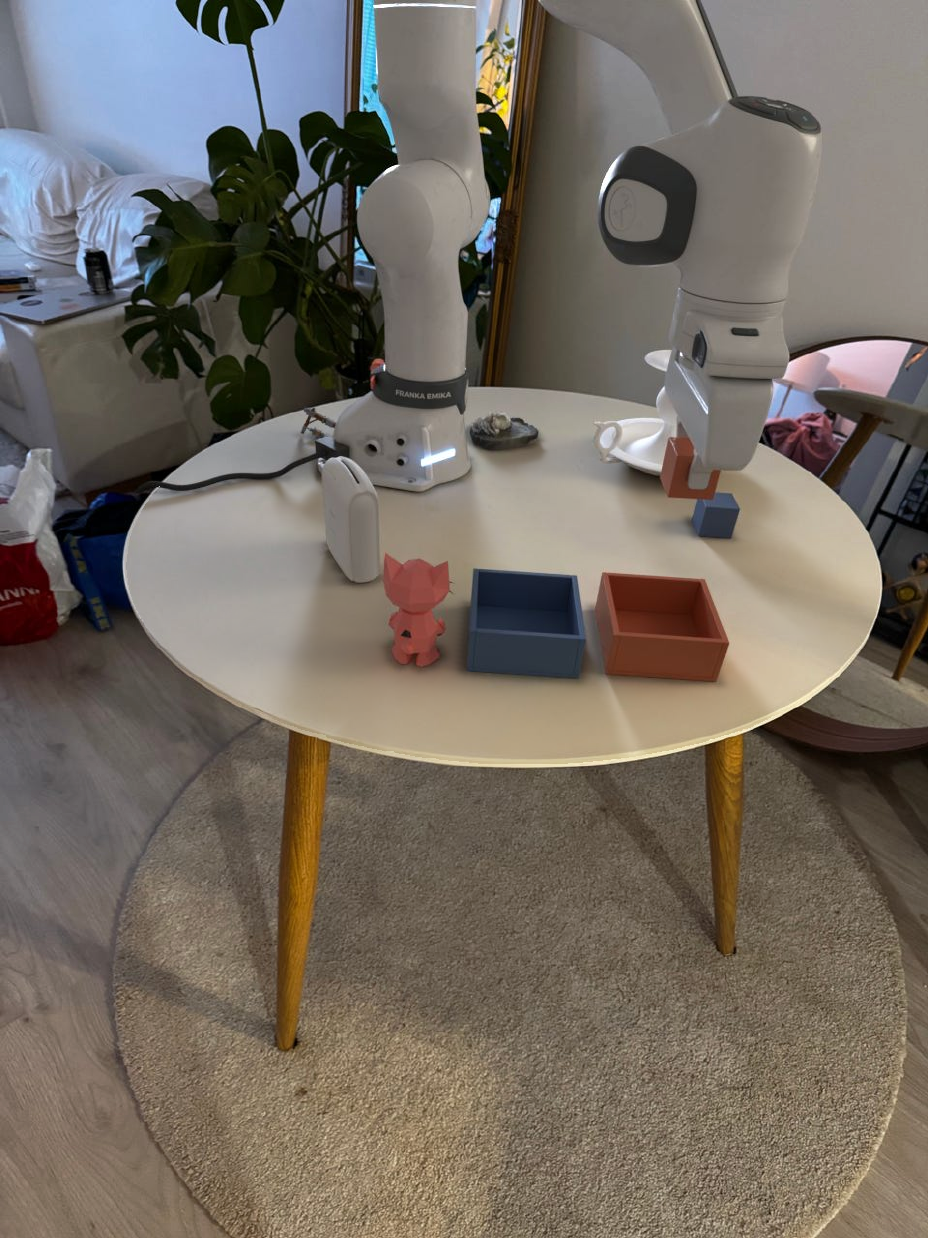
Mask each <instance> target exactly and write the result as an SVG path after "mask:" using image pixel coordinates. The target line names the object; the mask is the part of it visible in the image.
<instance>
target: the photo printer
mask: <svg viewBox="0 0 928 1238" xmlns="http://www.w3.org/2000/svg"><path fill="white" fill-rule="evenodd" d="M321 484H322V485H321V486H322V487H321V488H322V501H323V502H322V503H323V513H324V514H323V515H324V516H323V517H324V529H325V539H326V540H325V541H326V544H327V548H328V550H329V552H330V554H331V555H332V557H333V558H334V560H335V562H336V563H337V565H338V566H339V568H340V569H341V570H342V572H343V573H344V575H345V576H346V577H347V578H348V579H349V581H351V582H354V583H368V582H372V581H374V580H375V579H377V577H378V576H380V574H381V546H380V539H381V538H380V503H379V497H378V493H377V491H376V489H375V487H374V485H372V483H371V481H370V480H369V478H368V477H367V475H366V473H365V472H364V471H363V470H362V469H361V468H360V467H359V466H358V465H357V464H356V463H355V462H353V461H352V460H350V459H348V458H346V457H342V456H339V457H337V458H330V459H329V460H327V461H326V463H325V464H324V466H323V469H322V474H321Z"/></svg>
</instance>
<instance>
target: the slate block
mask: <svg viewBox="0 0 928 1238" xmlns="http://www.w3.org/2000/svg"><path fill="white" fill-rule="evenodd" d="M740 511H741V508H740V506H739V504H738V501H737V500H736V497H735V496H734V494H733V493H731V492H719V491H718V492H717V491H715V495H714V499H713V500H704V499H696V502H695V505H694V509H693V513H692V516H691V522H692V524H693V527H694V530H695V532H696V534H697V536H698V537H704V538H705V537H706V538H719V539H732V538H733V534H734V531H735V527H736V524H737V521H738V518H739V514H740Z"/></svg>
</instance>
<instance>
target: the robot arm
mask: <svg viewBox="0 0 928 1238" xmlns="http://www.w3.org/2000/svg"><path fill="white" fill-rule="evenodd" d="M538 1H539V3H540V5H541V6H542V7H543V8H544V9H545V10H546V11H547V12H548V14H550V15H551V16H552V17H555V19H557V20H559V21H560V22H562V23H564V24H566V25H568V26H570V27H572V28H575V29H577V30H579V31H582V32H584V33H586V34H589V35H591V36H593V37H594V38H597V39H599V40H601V41H603V42H604V43H606V44H608V45H610V46H612V47H613V48H615V49H616V50H618V52H621V53H622V54H624V55H625V56H626V57H627V58H629V59H630V60H631V61H632V62H633V63H635V65H636V66H637V67H638V68H639V69H640V70H641V71H642V73H643V74H644V75H645V76H646V78H647V80H648V82H649V83H650V85H651V88H652V90H653V93H654V95H655V97H656V99H657V102H658V104H659V107H660V109H661V112H662V114H663V117H664V119H665V122H666V124H667V127H668V129H669V132H670V134H671V135H669V136H665V137H662V138H658V139H656V140H652V141H648V142H645V143H642V144H639V145H634V146H632V147H629V148H627V149H626V150H624V151H623V152H622V153H620V154H619V155H618V156H617V157H616V159H615V160H614V161H613V162H612V164H611V166H610V167H609V169H608V170H607V172H606V175H605V177H604V179H603V182H602V185H601V188H600V192H599V195H598V204H597V222H598V223H597V224H598V228H599V232H600V236H601V239H602V241H603V243H604V245H605V247H606V249H607V250H608V251H609V253H610V254H611V255H612V256H613V257H614V258H615V259H616V260H617V261H618V262H620V263H622V264H625V265H627V266H628V265H629V266H634V267H639V268H654V267H661V266H673V267H675V268H677V269H678V270H679V274H680V278H679V283H678V289H677V293H676V299H675V304H674V310H673V314H672V319H671V323H670V324H671V325H670V330H669V334H668V342H669V344H670V346H672V347H671V349H670V350H671V354H670V358H669V362H668V367H667V371H666V372H665V377H664V386H665V392H666V394H667V396H668V398H669V400H670V402H671V404H672V406H673V408H674V409H675V411H676V413H677V420H676V437H681V438H690V440H691V442H692V444H693V446H694V455H695V457H694V459H693V462H692V465H688V470H687V475H686V482H687V484H688V486H689V488H691V489H700V490H703V489H705V488H706V487H707V486H708V482H709V478H710V474H711V473H712V471H713V470H721V471H725V472H726V471H730V472H741V471H743V470H745V469H746V467H748V465H749V464H750V463H751V461H752V460H753V458H754V456H755V454H756V451H757V448H758V444H759V442H760V440H761V438H762V435H763V431H764V428H765V425H766V422H767V419H768V416H769V413H770V409H771V406H772V401H773V397H774V390H775V389H774V381H773V380H781V379H783V378H784V377H785V375H786V372H787V369H788V366H789V361H790V352H789V351H790V350H789V348H788V345H787V342H786V337H785V333H784V316H783V313H784V308H785V306H786V302H787V297H788V295H789V275H790V274H789V273H790V269H791V265H792V261H793V260H794V256H796V253H797V251H798V249H799V247H800V246H801V244H802V242H803V240H804V237H805V233H806V230H807V226H808V222H809V218H810V214H811V212H812V211H811V210H812V206H813V202H814V199H815V194H816V189H817V185H818V180H819V175H820V169H821V164H822V163H821V162H822V154H823V129H822V127H821V124H820V122H819V120H818V119H817V118H816V117H815V116H814V115H813V114H812V113H811V112H810V111H809V110H807V109H805V108H803V107H801V106H799V105H796V104H793V103H790V102H787V101H783V100H779V99H771V98H767V97H765V96H755V95H740V96H739V95H738V92H737V89H736V86H735V84H734V81H733V79H732V77H731V74H730V71H729V69H728V66H727V63H726V61H725V58H724V56H723V54H722V53H723V52H722V51H721V48H720V45H719V43H718V40H717V37H716V35H715V32H714V30H713V27H712V25H711V22H710V20H709V17H708V15H707V12H706V10H705V7H704V5H703V3H702V0H538ZM373 7H374V8H373V21H374V39H375V60H376V61H375V63H376V78H377V79H376V82H377V94H378V97H379V102H380V104H381V106H382V107H383V109H384V110H385V113H386V116H387V119H388V121H389V125H390V127H391V132H392V133H391V134H392V137H393V141H394V146H395V152H396V156H397V164H396V165H393V166H391V167H389V168H387V169H386V170H384V171H383V172H381V174H379V175H378V177H377V178H375V179H374V181H372V183H371V184H370V185H369V186H368V187H367V188H366V189H365V191H364V193H363V194H362V195H361V198H360V200H359V203H358V207H357V214H356V224H357V231H358V235H359V238H360V241H361V244H362V245H363V247H364V249H365V250H366V252H367V253H368V254H369V256H370V258H371V259H372V260H373V264H374V268H375V273H376V277H377V281H378V284H379V289H380V294H381V300H382V307H383V320H384V321H383V322H384V323H383V324H384V327H383V328H384V359H382V358H376V359H374V360H373V361H372V363H371V365H370V375H369V376H370V377H369V378H370V379H369V380H370V381H369V384H370V391H369V392H368V393H366V394H365V395H363V396H362V397H360V398H358V399H357V400H356V401H355V402H353V403H352V404H350V405H349V406H347V407H346V408H344V410H343V411H342V412H341V413H340V415H339V416H338V417H337V420H336V421H335V422H336V425H335V428H333V432H332V433H333V434H332V436H323V437H321V438H320V437H319V438H318V439H315V440H314V445H315V447H314V448H315V453H313V454H310V455H307V456H304V457H301V458H299V459H296V460H295V461H293V462H291V463H289V464H287V465H286V466H285V467H283V468H281V469H279V470H277V471H272V472H262V473H261V472H231V473H226V474H221V475H218V476H214V477H210V478H208V479H205V480H201V481H197V482H194V483H188V484H175V483H168V482H165V481H158V480H151V481H146V482H143V483H142V484H140V485H139V486H138V487H137V488H136V489H135V490H134V494H137V495H138V494H142V493H143V492H144V491H146V490H148V489H151V488H159V489H164V490H169V491H176V492H189V491H194V490H198V489H203V488H205V487H209V486H211V485H214V484H217V483H221V482H226V481H230V480H231V481H232V480H239V479H240V480H241V479H243V480H244V479H245V480H270V479H276V478H280V477H282V476H284V475H286V474H288V473H289V472H291V471H292V470H293V469H295V468H297V467H299V466H303V465H304V464H307V463H309V462H313V461H316V460H317V469H318V471H319V473H320V474H321V475H322V469H323V466H324V464H325V463H326V461H327V460H329V459H330V458H337V457H339V456H342V457H346V458H348V459H350V460H352V461H353V462H355V463H356V464H357V465H358V466H359V467H360V468H361V469H362V470H363V471H364V472H365V473H366V475H367V477H368V478H369V480H370V481H371V483H372V485H373V486H374V485H375V486H380V487H386V488H392V489H398V490H404V491H411V492H418V493H421V492H425V491H427V490H429V489H431V488H432V487H434V486H436V485H440V484H444V483H449V482H452V481H454V480H455V481H456V480H457V479H459V478H461V477H463V476H464V475H466V474H467V473H468V472H469V471H470V469H471V466H472V462H471V459H470V455H469V450H468V444H467V436H466V425H465V412H466V409H467V407H468V395H469V379H468V377H469V376H468V375H469V371H468V369H467V368H466V358H467V342H468V341H467V340H468V324H469V323H468V322H469V311H468V307H467V305H466V304H465V302H464V299H463V298H464V297H463V293H462V285H461V278H460V271H459V269H460V268H459V257H460V251H461V249H463V248H465V247H466V246H469V244H471V243H472V242H473V241H474V240H475V239H476V238H477V237H478V235H479V234H480V232H481V231H482V229H483V227H484V225H485V223H486V220H487V219H488V216H489V213H490V209H491V193H490V188H489V184H488V182H487V180H486V176H485V168H484V167H485V166H484V155H483V149H482V148H483V147H482V141H481V140H482V139H481V134H480V126H479V118H478V117H479V116H478V108H477V89H476V86H477V85H476V84H477V83H476V81H477V80H476V77H477V76H476V75H477V70H476V68H477V66H476V65H477V0H373ZM159 486H160V487H159Z"/></svg>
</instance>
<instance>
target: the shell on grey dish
mask: <svg viewBox="0 0 928 1238" xmlns="http://www.w3.org/2000/svg"><path fill="white" fill-rule="evenodd" d="M469 435H470V438H471V441H472V443H473V444H474V445H476V446H478V447H480V448H482V449H485V450H488V451H506V450H513V449H519V448H525V447H527V446H530V445H532V444H533V443H535V442H536V441H537V440H538V438H539V430H538V429H537V427H535V426H534V425H532V424H530V425H529V423H528V422H525V420H524V419H523V418H521V417H514V416H512V417H509V416H508V415H507V414H506V412H501V411H500V412H497V411H495V412H492V411H488V413H487V415H486V416H485V417H483V418H482V417H481V416H479V417H478V418H477V419H475V420H474V421H472V422H471V426H470V429H469Z"/></svg>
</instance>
